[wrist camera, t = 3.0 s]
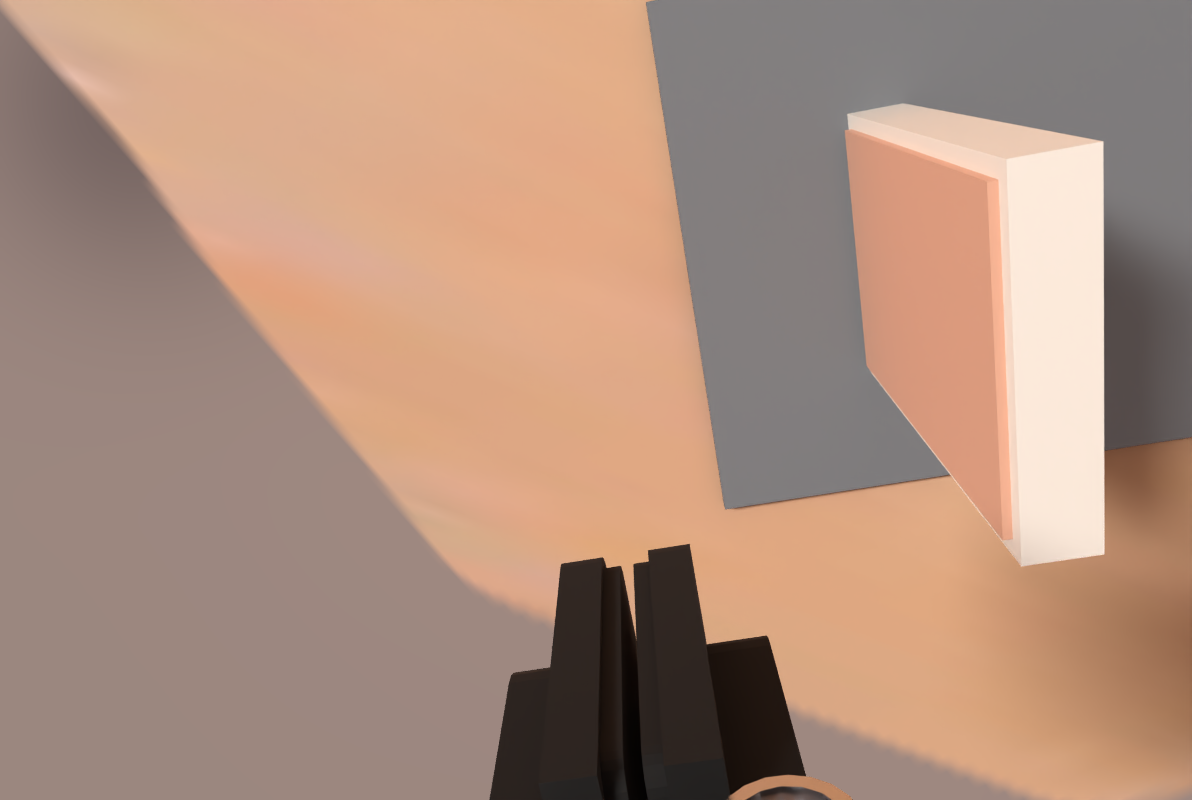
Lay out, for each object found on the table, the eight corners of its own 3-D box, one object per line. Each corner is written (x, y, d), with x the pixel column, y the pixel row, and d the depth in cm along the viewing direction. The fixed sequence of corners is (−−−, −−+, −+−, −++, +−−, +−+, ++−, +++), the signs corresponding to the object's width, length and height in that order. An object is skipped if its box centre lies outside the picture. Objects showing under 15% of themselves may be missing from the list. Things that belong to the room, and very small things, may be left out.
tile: (903, 103, 27) (1103, 141, 16) (921, 363, 30) (1104, 554, 19) (840, 115, 27) (994, 160, 16) (864, 373, 30) (1010, 568, 19)
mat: (1391, -149, 25) (1403, -151, 25) (1342, 408, 30) (1350, 412, 30) (645, 3, 27) (646, 2, 26) (724, 503, 32) (725, 509, 32)
